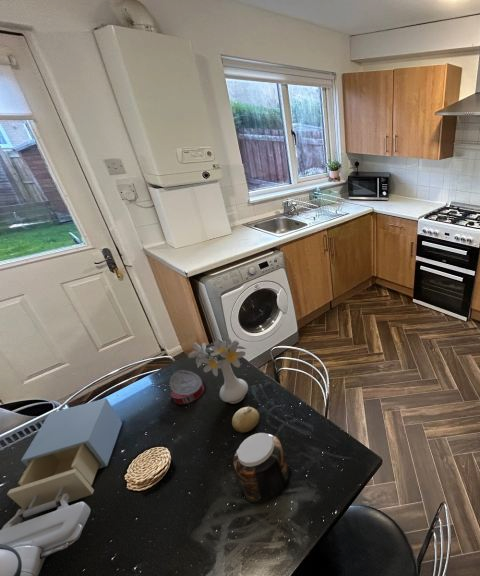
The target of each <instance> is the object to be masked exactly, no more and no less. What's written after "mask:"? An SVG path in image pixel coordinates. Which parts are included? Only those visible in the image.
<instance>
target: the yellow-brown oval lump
mask: <svg viewBox="0 0 480 576" xmlns="http://www.w3.org/2000/svg"><path fill="white" fill-rule="evenodd" d="M259 421H260V413H259V412H258V410H257V409H256V408H254V407H252V406H250V405H249V404H248V405H247V406H244V407H241V408H239V409H238V410H237V411H236V412H235V413H234V414H233V416H232V419H231V425H232V428H233V430H235V431H236V432H238V433H248V432H251V431H252V430H253V429H254V428H255V427H256V426H257V425H258V423H259Z"/></svg>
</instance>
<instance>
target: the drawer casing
mask: <svg viewBox="0 0 480 576" xmlns="http://www.w3.org/2000/svg"><path fill="white" fill-rule="evenodd" d="M122 425H123V421H122V420H121V419H120V417H119V415H118V414H117V412H116V411H115V409H114V408H113V406H112V404H111V403H110V402H109V400H108V398H107V397H105V398H101V399H97V400H94V401H90V402H86V403H82V404H78V405H75V406H72V407H68V408H63V409H60V410H56V411H52V412H49V414H48V415H47V416H46V418H45V420H44V421H43V423H42V425H41V426H40V427H39V430H38V431H37V433H36V434H35V436H34V437H33V440H32V441H31V443H30V445H29V446H28V448H27V449H26V451H25V453H24V454H23V456H22V458H21V460H20V462H22V463H23V465H24V466H25V467H26V468H27V467H28V465H29V463H30V461H31V460H33V459H36V458H39V457H43V456H46V455H49V454H53V453H56V452H59V451H63V450H66V449H69V448H73V447H76V446H79V445H83V444H86V445H87V446H88V448H89V449H90V450H91V452H92V453H93V454H94V455H95V457H96V458H97V459H98V461H99V462H100V464H99V467H98V470H99V469H102V468H106V467H108V465H109V462H110V460H111V456H112V454H113V450H114V448H115V445H116V442H117V439H118V436H119V433H120V431H121V427H122Z"/></svg>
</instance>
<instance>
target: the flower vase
mask: <svg viewBox="0 0 480 576" xmlns="http://www.w3.org/2000/svg"><path fill="white" fill-rule="evenodd" d="M225 338H226V339H224V340H222V341H221V340H220V339H216V340H215V341H214V342H213V346H209V347H207V343H206V342H202V343H201V344H200V345H199V344H198V343H197V342H196V341H195V342H192V348H193V349H194V351H190V353H188V355H187V357H188V358H189V359H194V358H195V365H197V366H196V367H197V368H199V367H202V365H203V364H205V366H204V367H203V369H202V370H203V372H204V373H209V372H210V371H211V372H212V374H213V375H214V376H215V377H218V376H219V371H218V369H220V370H221V372H222V376H223V380H224V382H223V384H222V386H221V387H220V389H219V398H220V400H222V401H223V402H225V403H229V404H232V405H233V404H238V403H240V402H242V401H243V400H244V399H245V397H246V395H247V393H248V391H249V385H248V383H247V381H246V380H244V379H243V378H238V377H237V376H236V375H235V373H234V370H233V368H232V366H231V364H232V365H233V366H234V368H237V369H239V368H240V367H241V361H240V360H239V359H241V358H244V357H245V355H246V352H245V351H243V350H246V349H247V348H246V347H244V346H241V345H240V343H239V342H238V340H233V341H232V340H231V338H230V337H229V336H227V335H226V337H225ZM227 342H228V344H227ZM237 350H239V351H237Z"/></svg>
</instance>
